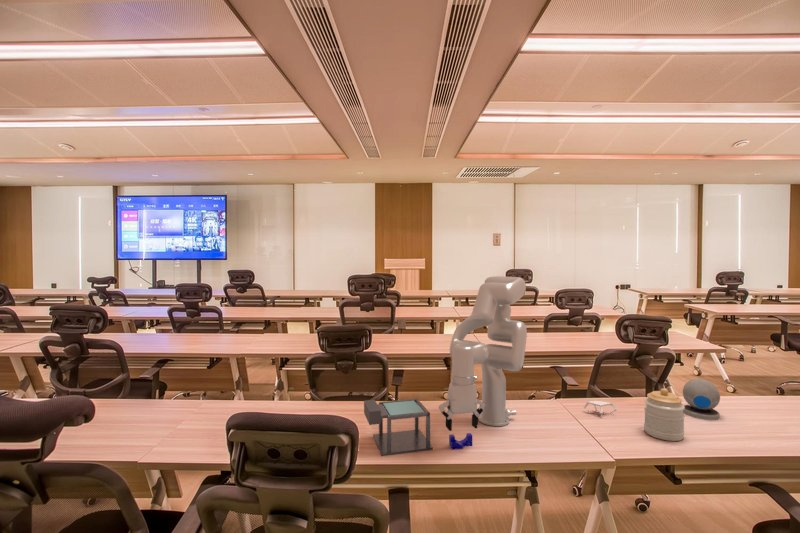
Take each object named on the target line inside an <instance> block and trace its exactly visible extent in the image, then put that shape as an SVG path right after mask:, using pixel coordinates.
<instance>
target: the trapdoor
mask: <svg viewBox="0 0 800 533" xmlns="http://www.w3.org/2000/svg"><path fill="white" fill-rule="evenodd" d="M363 413H364V416H365V418H366V420H367V423H368V425H369V426H373V425H374V426H375V425H379V424H381V419H383V420H384V419H387V416H396V415H405V414H415V413H424V412H423V410H422V409H421V408H420V407H419V406H418V405H417V404H416V402H415V401H414V400H413V401H402V402H391V403H383V405H382V404H379V403H377V401H376V400H375V399H367V400H363Z"/></svg>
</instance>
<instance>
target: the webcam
mask: <svg viewBox="0 0 800 533" xmlns="http://www.w3.org/2000/svg"><path fill="white" fill-rule="evenodd" d="M682 395H683V398H684V400H685V402H686V403H687V404H685V405H684V404H683V405H684V406H685V409H684V410H683V414H684V415H687V416H690V417H692V418H696V419H699V420H700V419H701V420H707V421H710V420H712V421H714V420H716V421H717V420H718V419H720V417H721V416H720V412H719V411H717V410H716V409H715V408H716V407H718V405H719V403H720V400H721V394H720V391H719V390H718V388H717V387H716V386H715V385H714V383H712V382H710V381H709V380H706V379H702V378H694V379H691V380H689V381H687V382H686V383H685V384H684V385H683V388H682Z"/></svg>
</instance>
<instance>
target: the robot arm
mask: <svg viewBox="0 0 800 533" xmlns="http://www.w3.org/2000/svg"><path fill="white" fill-rule="evenodd" d="M526 290H527V284H526V282H525V279H524V278H522V277H519V276H498V275H497V276H495V275H494V276H489V277H486V279H485V280H484V283H483V284H481V285H480V286H479V287H478V292H477V294H476V298H475V302H474V305H473V308H472V312H471V314H470V315H469V316H467V317H466V318H464V319H463V321H461V322H460V323H459V324H458V325H457V327H456V328H455V330H454V332H453V335H452V338H451V341H450V345H449V354H450V356H451V358H452V364H451V365H452V368H451V369H452V370H451V374H452V375H451V382H450V383H449V385H448V391H447V396H446V397H447V398H446V401H445V402H443V403H441V404H439V405H438V409H439V411H440V413H441V415H443V417H444V418H445V427H446V430H448V431H449V432H451V431H452V430H453V429H452V427H453V420H452V419H451V418H452V417H453V416H454V415H457V414H458V415H459V414H471V413H472V415H471V426H472V427H473V428H474V429H478V425H479V422H480V423H481V424H483V425H486V426H491V427H503V426H506V425H508V424H510V416H517V410H515V409H512V410H511V409H510V408H507V407H506V403H507V401H506V400H507V399H506V397H507V396H506V395H507V387H506V386H507V381H506V380H507V379H506V376H505V374H504V372H503V370H505V371H511V372H518V371H520V370H522V369H523V365H524V361H525V355H526V354H525V353H526V348H527V347H526V345H527V337H528V336H527V335H528V332H527V331H528V330H527V326H526V324H525V322H523V321H521V320H515V319H511V313H512V309H511V308H512V307H511V305H514V304H515V303H516V302H518V301H519V300H520V299H521V298H523V296H524V295H525V293H526ZM486 326H487V333H486V334H487V337H488V339H489V340H491V341H492V342H493V341H494V342H497V343H498V342H499V343H506V344H511V346H509V345H505V344H504V345H503V344H496V343H494V344H493V343H486V344H485V343H483V342H480V341H473V340H465V338H466V336H467V335H468V334H470V333H471V332H472V331H475V330H477V329H480V328H483V327H486ZM475 364H480V366H481V376H482V377H481V378H482V380H481V388H482V389H481V400H480V399H478V394H477V388H476V384H475V380H476V381H477V380H478V377H477V375H475V370H474V368H475ZM478 405H479V406H478ZM445 408H446V409H447V410H445ZM506 408H507V409H506Z"/></svg>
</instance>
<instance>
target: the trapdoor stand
mask: <svg viewBox="0 0 800 533" xmlns="http://www.w3.org/2000/svg"><path fill="white" fill-rule="evenodd" d="M413 400H414V401H415V402H416V404H417V405H418V406H419V407H420V408H421V410H422V411H423V412H424V413H415V414H405V415H396V416H389V415H388V416H387V418H386V432H384V430H383V429H384V426H383V425H384V424H383V422H384V418H383V419H381V424H378V433H374V434H372V438H373V439H374V441H375V444H376V446H378V447H377V449H378V452H379V453H380V455H381V457H386V456H394V455H402V454H410V453H419V452H426V451H433V449H434V446H432V445H431V413H430V411H429V410H428V409H427V408H426V406H425V405H423V402H421V401H420V399H418V398H411V399H409V398H408V399H398V400H389V401H386V400H385V401H379V402H378V404H382V405H383V403H391V402H402V401H413ZM422 417H423V418H424V417H425V434H424V433H423V431H422V430H421V429H419V427H420V426H419V424H420V422H419V418H422ZM413 418H414V429H410V430H400V431H392V421H394V420H396V421H397V420H402V419H413Z"/></svg>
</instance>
